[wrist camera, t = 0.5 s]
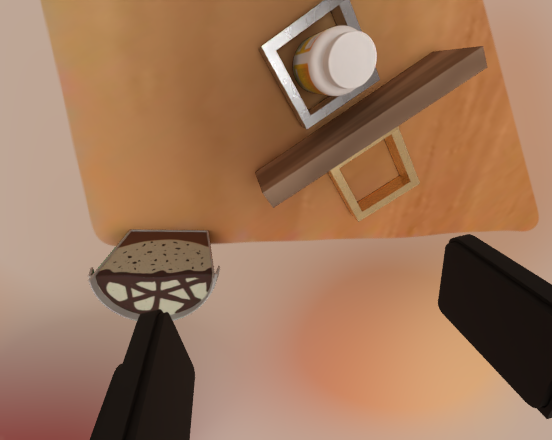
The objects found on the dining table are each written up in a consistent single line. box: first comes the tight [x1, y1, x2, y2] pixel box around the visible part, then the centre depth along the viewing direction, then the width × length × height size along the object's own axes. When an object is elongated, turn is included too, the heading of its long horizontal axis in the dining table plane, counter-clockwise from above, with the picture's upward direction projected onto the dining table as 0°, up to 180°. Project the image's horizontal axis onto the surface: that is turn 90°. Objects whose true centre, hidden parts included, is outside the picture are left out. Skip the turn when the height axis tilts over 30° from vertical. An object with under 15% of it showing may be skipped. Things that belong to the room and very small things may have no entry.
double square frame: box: [259, 0, 420, 222], centre depth 33 cm, size 23×9×2 cm, turn 32°
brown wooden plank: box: [255, 46, 487, 208], centre depth 31 cm, size 2×24×7 cm, turn 122°
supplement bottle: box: [293, 25, 377, 96], centre depth 27 cm, size 5×5×10 cm
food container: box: [88, 229, 220, 321], centre depth 33 cm, size 12×6×10 cm, turn 84°
